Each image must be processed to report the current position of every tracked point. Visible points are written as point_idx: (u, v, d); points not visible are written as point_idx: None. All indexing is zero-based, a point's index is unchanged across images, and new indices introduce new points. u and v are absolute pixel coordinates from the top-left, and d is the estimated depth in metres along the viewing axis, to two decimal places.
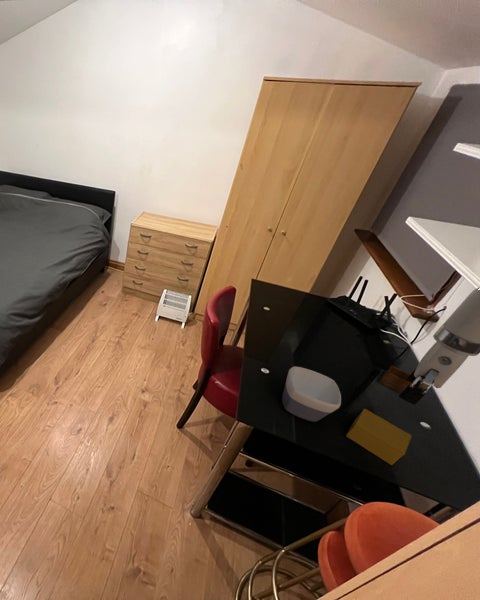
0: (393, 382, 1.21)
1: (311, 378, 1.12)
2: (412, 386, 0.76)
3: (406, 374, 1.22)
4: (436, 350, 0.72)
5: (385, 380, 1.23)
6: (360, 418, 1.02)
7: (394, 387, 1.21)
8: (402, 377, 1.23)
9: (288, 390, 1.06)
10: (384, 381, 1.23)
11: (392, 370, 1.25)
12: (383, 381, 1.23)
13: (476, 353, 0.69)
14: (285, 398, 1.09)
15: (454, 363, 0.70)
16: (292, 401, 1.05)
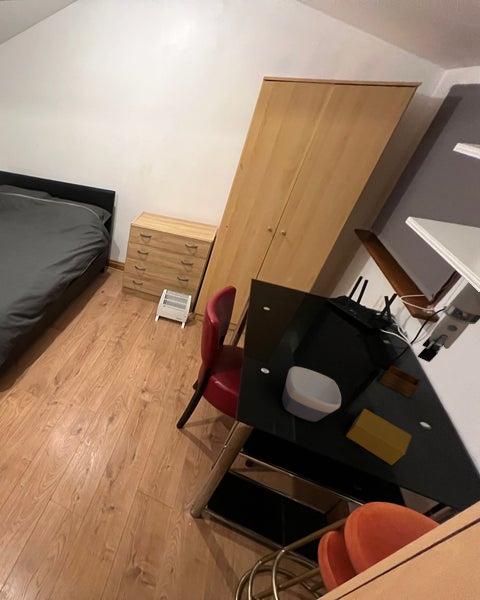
0: (393, 382, 1.21)
1: (311, 378, 1.12)
2: (428, 348, 1.04)
3: (406, 374, 1.22)
4: (446, 321, 1.01)
5: (385, 380, 1.23)
6: (360, 418, 1.02)
7: (394, 387, 1.21)
8: (402, 377, 1.23)
9: (288, 390, 1.06)
10: (384, 381, 1.23)
11: (392, 370, 1.25)
12: (383, 381, 1.23)
13: (474, 322, 0.98)
14: (285, 398, 1.09)
15: (459, 329, 0.99)
16: (292, 401, 1.05)
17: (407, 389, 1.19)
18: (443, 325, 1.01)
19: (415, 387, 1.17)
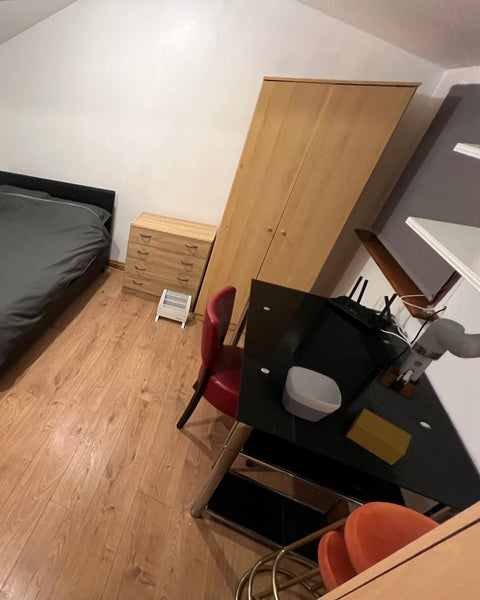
0: None
1: (311, 378, 1.12)
2: (397, 380, 1.19)
3: None
4: (412, 357, 1.14)
5: (385, 380, 1.23)
6: (360, 418, 1.02)
7: None
8: (402, 377, 1.23)
9: (288, 390, 1.06)
10: (384, 381, 1.23)
11: (392, 370, 1.25)
12: (383, 381, 1.23)
13: (437, 359, 1.11)
14: (285, 398, 1.09)
15: (423, 365, 1.12)
16: (292, 401, 1.05)
17: (407, 389, 1.19)
18: (410, 360, 1.15)
19: (415, 387, 1.17)
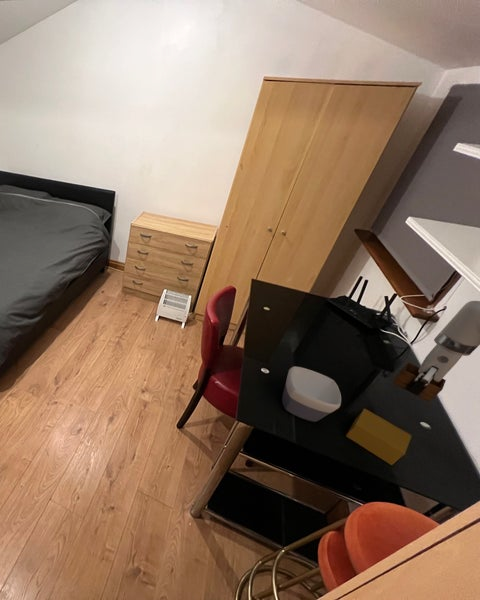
0: None
1: (311, 378, 1.12)
2: (416, 380, 0.95)
3: None
4: (436, 351, 0.90)
5: (400, 380, 0.99)
6: (360, 418, 1.02)
7: None
8: (421, 377, 0.99)
9: (288, 390, 1.06)
10: (399, 381, 0.99)
11: (409, 368, 1.01)
12: (397, 381, 0.99)
13: (468, 353, 0.87)
14: (285, 398, 1.09)
15: (450, 361, 0.88)
16: (292, 401, 1.05)
17: (428, 392, 0.94)
18: (433, 355, 0.90)
19: (439, 389, 0.92)
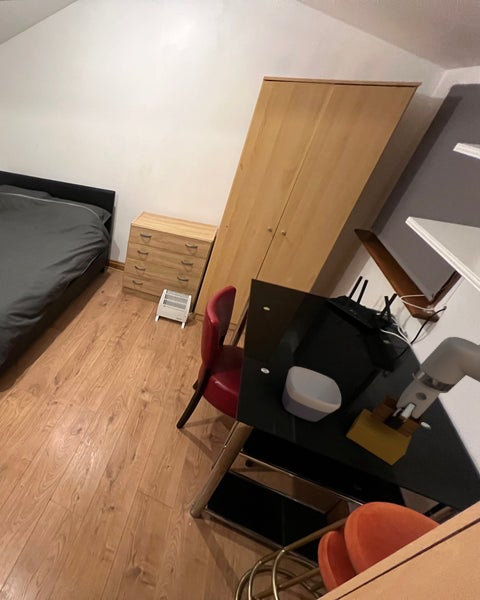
0: None
1: (311, 378, 1.12)
2: (394, 415, 0.91)
3: None
4: (414, 387, 0.87)
5: (378, 414, 0.95)
6: (360, 418, 1.02)
7: None
8: None
9: (288, 390, 1.06)
10: (377, 415, 0.96)
11: (387, 400, 0.98)
12: (376, 415, 0.96)
13: (446, 391, 0.83)
14: (285, 398, 1.09)
15: (428, 399, 0.85)
16: (292, 401, 1.05)
17: (406, 427, 0.91)
18: (411, 392, 0.87)
19: (417, 425, 0.89)
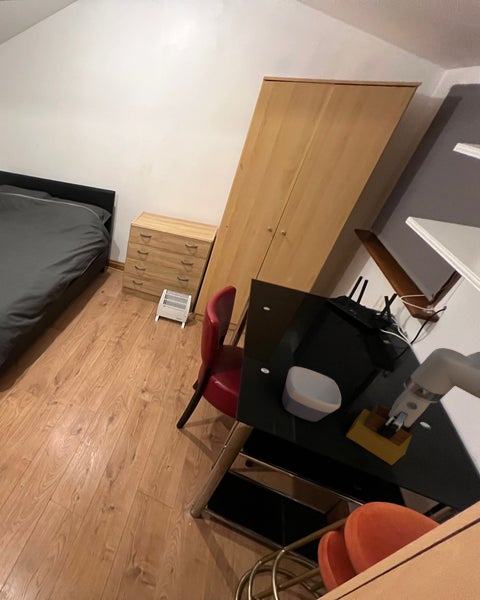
0: (380, 426, 0.96)
1: (311, 378, 1.12)
2: (387, 424, 0.92)
3: None
4: (405, 397, 0.89)
5: (370, 423, 0.98)
6: (360, 418, 1.02)
7: None
8: None
9: (288, 390, 1.06)
10: (369, 424, 0.98)
11: (379, 409, 1.00)
12: (368, 424, 0.98)
13: (436, 401, 0.86)
14: (285, 398, 1.09)
15: (419, 408, 0.87)
16: (292, 401, 1.05)
17: (397, 436, 0.93)
18: (402, 401, 0.89)
19: (407, 435, 0.92)
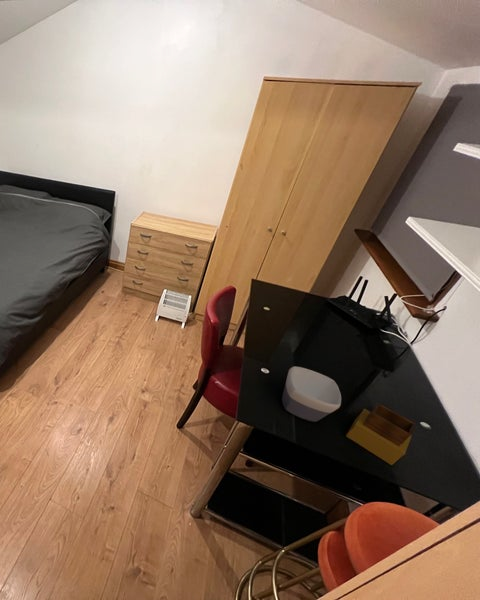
0: (380, 426, 0.96)
1: (311, 378, 1.12)
2: None
3: (397, 416, 0.97)
4: None
5: (370, 423, 0.98)
6: (360, 418, 1.02)
7: (381, 432, 0.96)
8: (392, 419, 0.98)
9: (288, 390, 1.06)
10: (369, 424, 0.98)
11: (379, 409, 1.00)
12: (368, 424, 0.98)
13: None
14: (285, 398, 1.09)
15: None
16: (292, 401, 1.05)
17: (397, 436, 0.93)
18: None
19: (407, 435, 0.92)
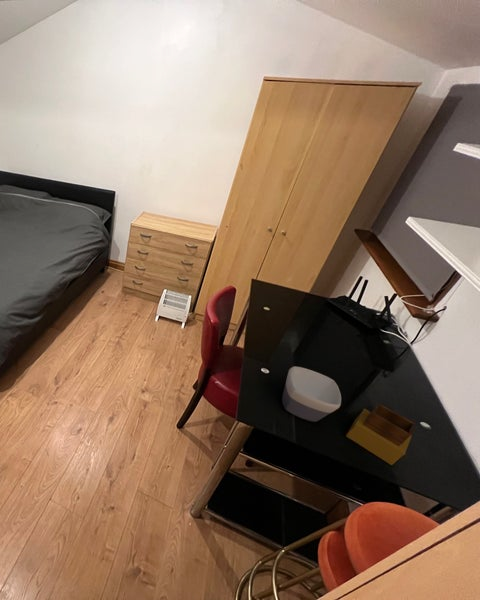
0: (380, 426, 0.96)
1: (311, 378, 1.12)
2: None
3: (397, 416, 0.97)
4: None
5: (370, 423, 0.98)
6: (360, 418, 1.02)
7: (381, 432, 0.96)
8: (392, 419, 0.98)
9: (288, 390, 1.06)
10: (369, 424, 0.98)
11: (379, 409, 1.00)
12: (368, 424, 0.98)
13: None
14: (285, 398, 1.09)
15: None
16: (292, 401, 1.05)
17: (397, 436, 0.93)
18: None
19: (407, 435, 0.92)
